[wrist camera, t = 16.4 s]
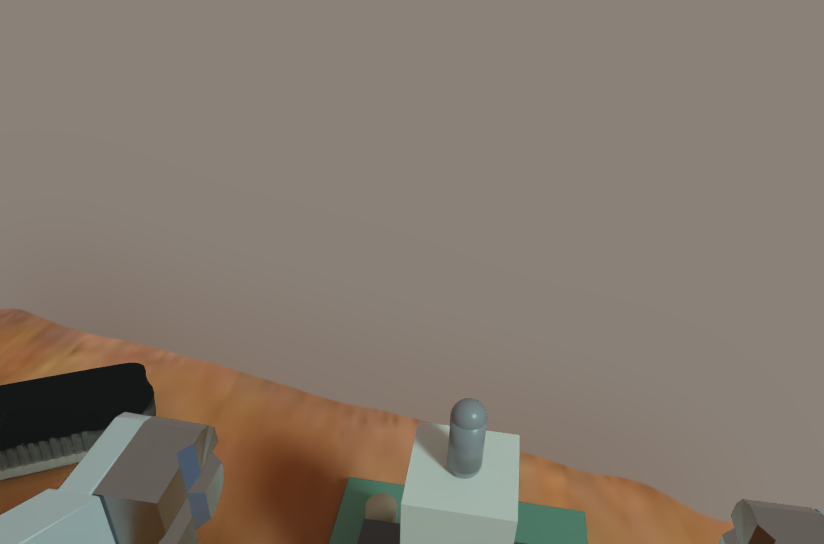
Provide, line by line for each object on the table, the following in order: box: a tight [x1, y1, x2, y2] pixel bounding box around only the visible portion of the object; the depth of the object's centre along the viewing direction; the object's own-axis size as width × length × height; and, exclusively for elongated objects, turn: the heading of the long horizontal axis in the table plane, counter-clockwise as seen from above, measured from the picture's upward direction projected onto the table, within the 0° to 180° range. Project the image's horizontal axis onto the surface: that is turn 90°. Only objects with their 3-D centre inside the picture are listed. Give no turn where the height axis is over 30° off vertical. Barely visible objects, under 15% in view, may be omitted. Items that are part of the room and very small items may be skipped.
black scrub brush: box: [0, 363, 156, 481], centre depth 47 cm, size 16×8×4 cm, turn 110°
